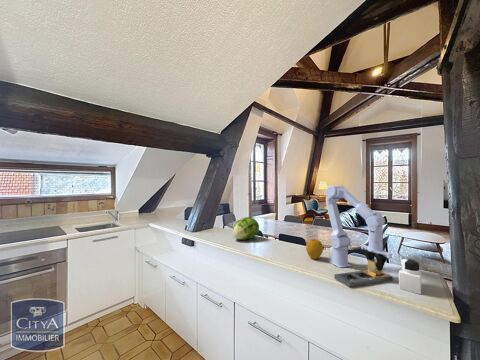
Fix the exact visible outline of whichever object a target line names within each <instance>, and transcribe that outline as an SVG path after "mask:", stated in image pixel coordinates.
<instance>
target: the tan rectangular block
mask: <svg viewBox="0 0 480 360" xmlns="http://www.w3.org/2000/svg"><path fill="white" fill-rule="evenodd" d="M367 270H368V273H370V274H372V275H375V276H382V272H383V270H382V271H378V268H377V260H376V258H374V259H370V260H367Z"/></svg>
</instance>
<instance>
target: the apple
mask: <svg viewBox="0 0 480 360" xmlns="http://www.w3.org/2000/svg"><path fill="white" fill-rule="evenodd" d="M305 247H306V248H305V251H306V253H307V255H308V257H309V258H310V259H312V260H317V259H320V257H321V256H322V254H323V251H324V246H323V244H322V242H321V241H320V240H319V239H318V238H311V239H309V240H308V241H307V243H306V246H305Z"/></svg>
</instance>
